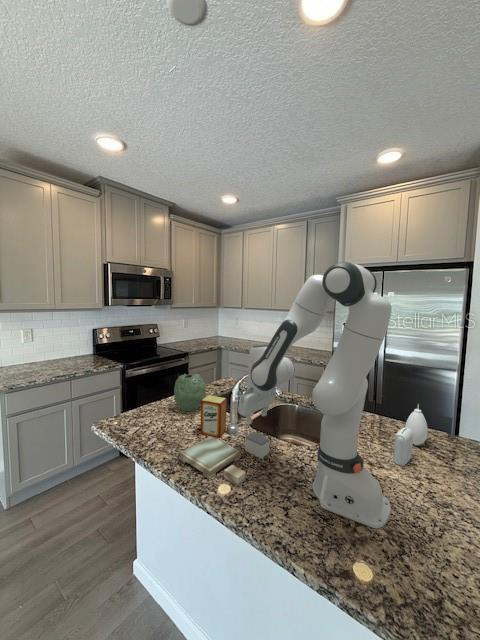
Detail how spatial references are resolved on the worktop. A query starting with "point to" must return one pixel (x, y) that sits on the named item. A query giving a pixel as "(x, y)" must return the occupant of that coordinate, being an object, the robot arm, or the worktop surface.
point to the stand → (209, 456)
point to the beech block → (234, 475)
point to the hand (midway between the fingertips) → (256, 419)
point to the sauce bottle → (417, 426)
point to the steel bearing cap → (232, 428)
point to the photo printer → (403, 446)
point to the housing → (257, 445)
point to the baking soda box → (213, 416)
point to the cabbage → (189, 391)
